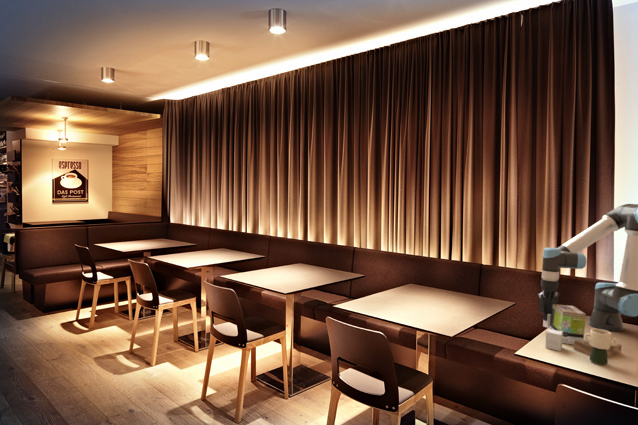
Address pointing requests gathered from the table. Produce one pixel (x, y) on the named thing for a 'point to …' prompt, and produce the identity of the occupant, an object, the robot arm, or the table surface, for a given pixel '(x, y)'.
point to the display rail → (587, 348)
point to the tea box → (568, 322)
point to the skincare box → (554, 339)
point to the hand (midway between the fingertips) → (546, 326)
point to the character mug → (599, 345)
